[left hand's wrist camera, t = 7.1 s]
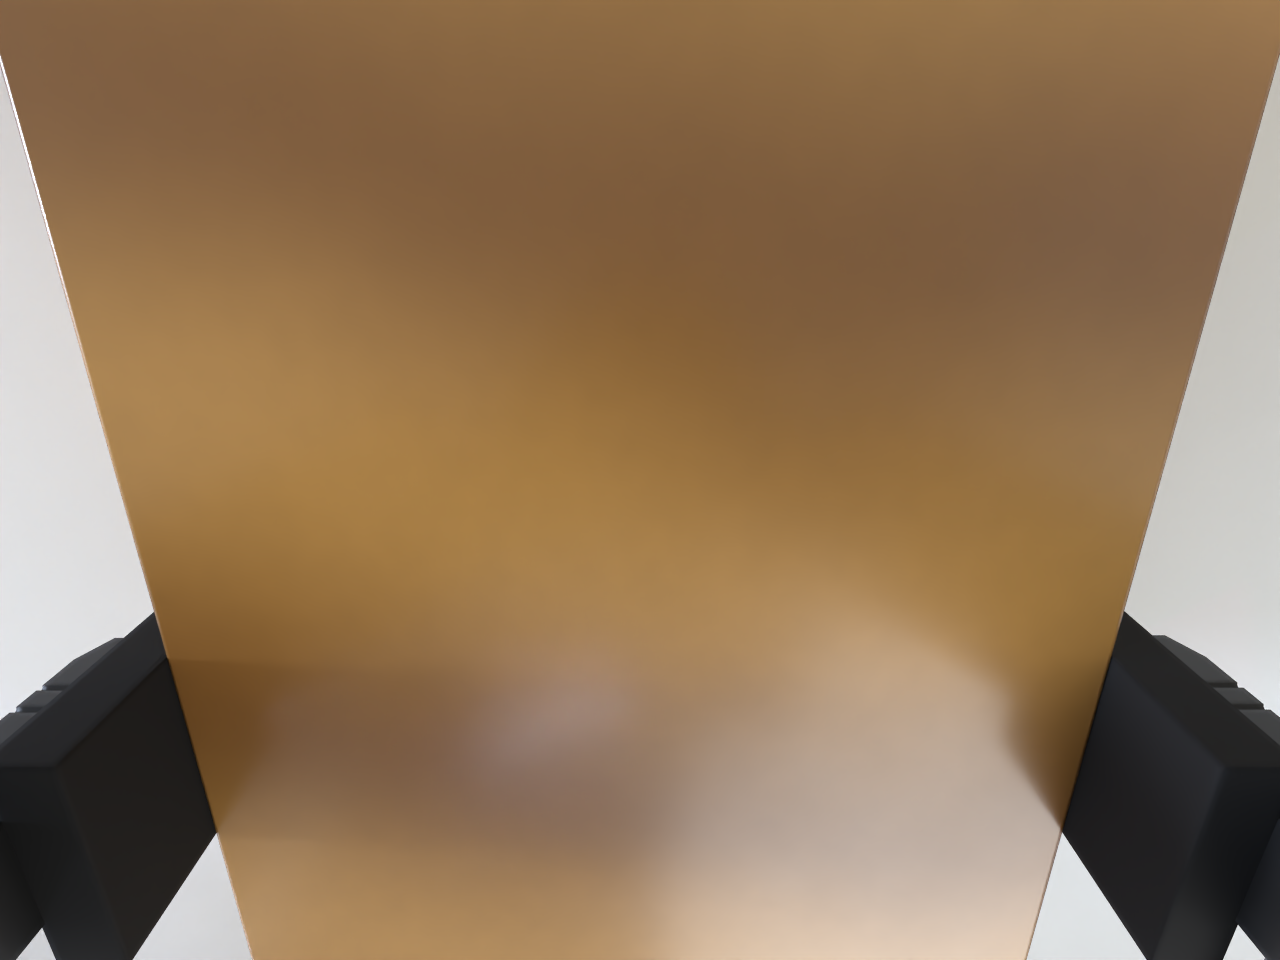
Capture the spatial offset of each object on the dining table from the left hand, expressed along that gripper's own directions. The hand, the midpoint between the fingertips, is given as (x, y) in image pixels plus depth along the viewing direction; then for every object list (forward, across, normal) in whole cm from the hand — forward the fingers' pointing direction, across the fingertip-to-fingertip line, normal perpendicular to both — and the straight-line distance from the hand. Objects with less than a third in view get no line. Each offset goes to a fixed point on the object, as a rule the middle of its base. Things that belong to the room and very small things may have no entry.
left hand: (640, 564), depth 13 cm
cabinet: (+5, 0, -7) cm, 8 cm away
